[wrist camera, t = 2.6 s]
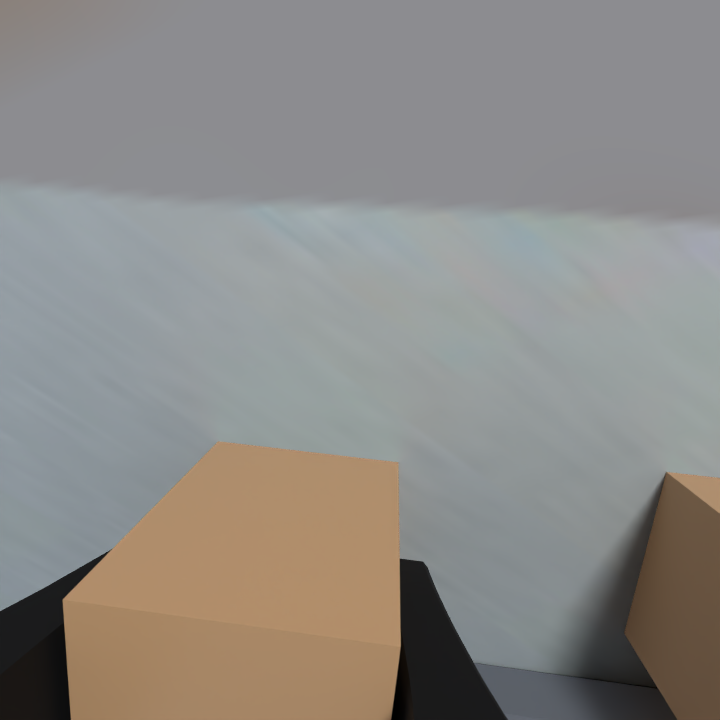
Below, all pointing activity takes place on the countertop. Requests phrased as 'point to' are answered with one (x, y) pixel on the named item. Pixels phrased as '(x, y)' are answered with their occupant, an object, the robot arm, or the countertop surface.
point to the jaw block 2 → (682, 598)
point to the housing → (570, 697)
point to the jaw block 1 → (247, 596)
